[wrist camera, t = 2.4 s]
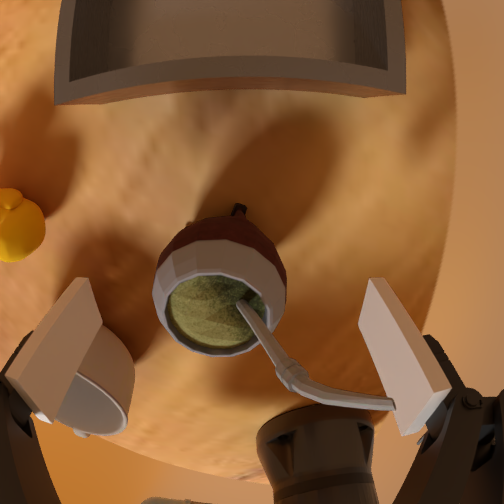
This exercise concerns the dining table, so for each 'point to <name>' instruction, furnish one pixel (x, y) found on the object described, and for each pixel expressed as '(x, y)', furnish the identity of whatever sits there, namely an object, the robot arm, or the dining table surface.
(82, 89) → the tray
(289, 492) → the robot arm
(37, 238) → the duckling
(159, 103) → the dining table surface
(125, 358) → the teacup
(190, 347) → the mate gourd
